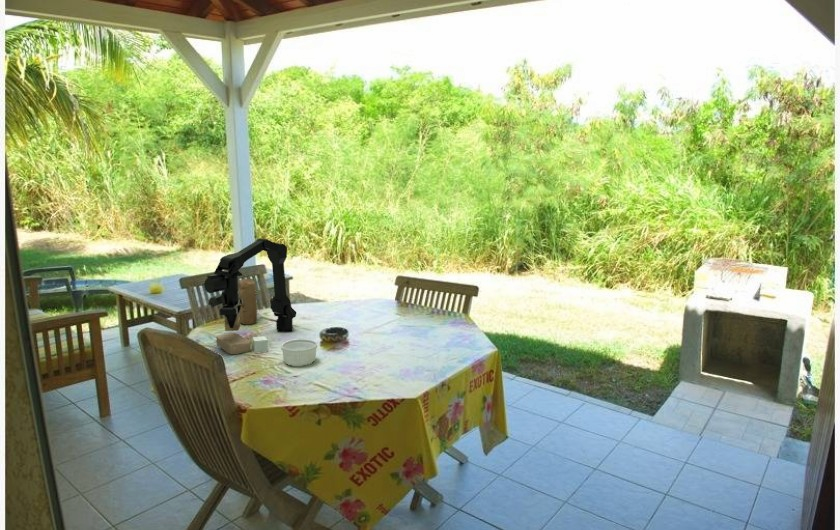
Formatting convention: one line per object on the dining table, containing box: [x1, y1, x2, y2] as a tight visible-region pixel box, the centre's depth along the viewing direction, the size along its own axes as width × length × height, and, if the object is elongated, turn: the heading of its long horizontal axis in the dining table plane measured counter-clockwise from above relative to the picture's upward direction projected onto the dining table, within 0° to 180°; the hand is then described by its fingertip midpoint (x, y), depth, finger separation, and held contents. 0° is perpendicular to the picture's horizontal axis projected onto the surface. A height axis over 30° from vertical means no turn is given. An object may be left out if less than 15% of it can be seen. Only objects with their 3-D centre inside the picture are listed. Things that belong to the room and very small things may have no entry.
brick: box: [215, 331, 252, 355], centre depth 226 cm, size 17×8×5 cm, turn 40°
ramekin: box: [280, 338, 318, 367], centre depth 212 cm, size 13×13×7 cm
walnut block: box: [223, 313, 241, 332], centre depth 224 cm, size 5×5×6 cm
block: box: [238, 278, 258, 325], centre depth 259 cm, size 11×8×20 cm
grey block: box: [252, 335, 269, 354], centre depth 223 cm, size 5×5×5 cm
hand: (232, 326), depth 224 cm, fingers closed on walnut block, 5 cm apart
